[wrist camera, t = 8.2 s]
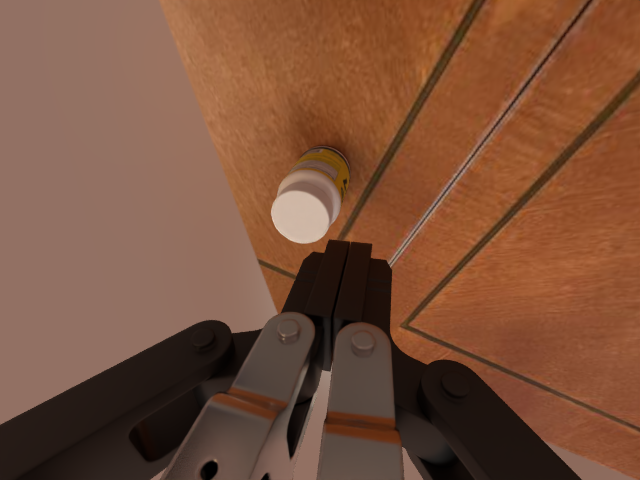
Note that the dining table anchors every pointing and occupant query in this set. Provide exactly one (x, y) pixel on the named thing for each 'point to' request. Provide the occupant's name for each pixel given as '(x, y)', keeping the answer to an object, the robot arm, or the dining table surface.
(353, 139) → the dining table surface
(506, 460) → the robot arm
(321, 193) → the supplement bottle
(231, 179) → the dining table surface
